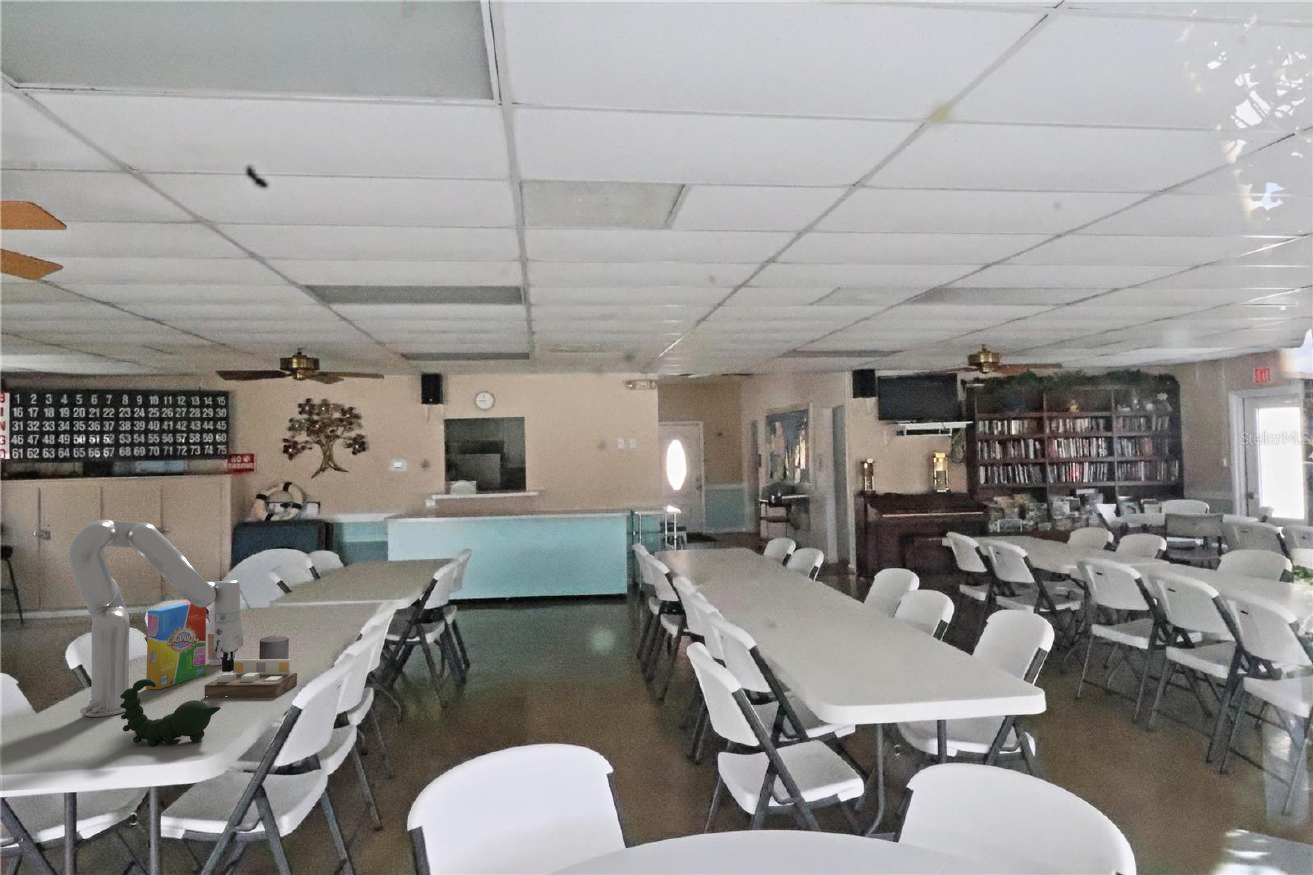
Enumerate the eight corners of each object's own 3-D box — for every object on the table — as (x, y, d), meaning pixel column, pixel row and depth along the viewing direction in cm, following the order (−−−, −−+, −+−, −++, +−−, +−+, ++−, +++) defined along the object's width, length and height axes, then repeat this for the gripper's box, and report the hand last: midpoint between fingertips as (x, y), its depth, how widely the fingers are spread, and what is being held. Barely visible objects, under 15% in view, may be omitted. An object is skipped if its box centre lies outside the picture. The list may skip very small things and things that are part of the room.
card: (289, 674, 261) (289, 659, 261) (232, 674, 261) (232, 660, 262) (290, 673, 262) (290, 659, 262) (233, 674, 262) (233, 659, 262)
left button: (229, 683, 253) (229, 676, 253) (217, 683, 253) (217, 676, 253) (236, 680, 257) (236, 673, 257) (224, 680, 257) (224, 673, 257)
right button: (276, 687, 253) (276, 679, 253) (264, 687, 253) (264, 679, 253) (282, 683, 257) (282, 676, 257) (270, 683, 257) (270, 676, 257)
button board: (275, 697, 248) (275, 684, 249) (204, 697, 249) (204, 685, 249) (297, 684, 262) (297, 673, 263) (229, 685, 263) (229, 673, 263)
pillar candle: (252, 678, 271) (253, 636, 272) (276, 670, 280) (277, 630, 281) (271, 681, 267) (271, 639, 268) (294, 674, 276) (295, 633, 276)
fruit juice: (209, 667, 287) (210, 593, 288) (205, 662, 294) (206, 590, 295) (237, 663, 293) (238, 590, 294) (232, 658, 300) (233, 588, 301)
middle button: (252, 683, 253) (252, 676, 253) (241, 683, 253) (241, 676, 253) (259, 679, 257) (259, 672, 257) (247, 680, 257) (247, 672, 257)
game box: (158, 690, 258) (159, 610, 259) (145, 689, 259) (145, 610, 260) (206, 673, 278) (206, 599, 279) (193, 673, 279) (194, 599, 280)
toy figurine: (117, 757, 203) (215, 743, 205) (111, 687, 203) (208, 674, 206) (137, 744, 212) (230, 731, 215) (131, 677, 212) (224, 665, 215)
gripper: (225, 621, 248) (225, 677, 248) (250, 612, 263) (251, 665, 263) (203, 622, 248) (203, 677, 248) (229, 612, 263) (229, 665, 263)
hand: (227, 671), depth 255 cm, fingers closed
